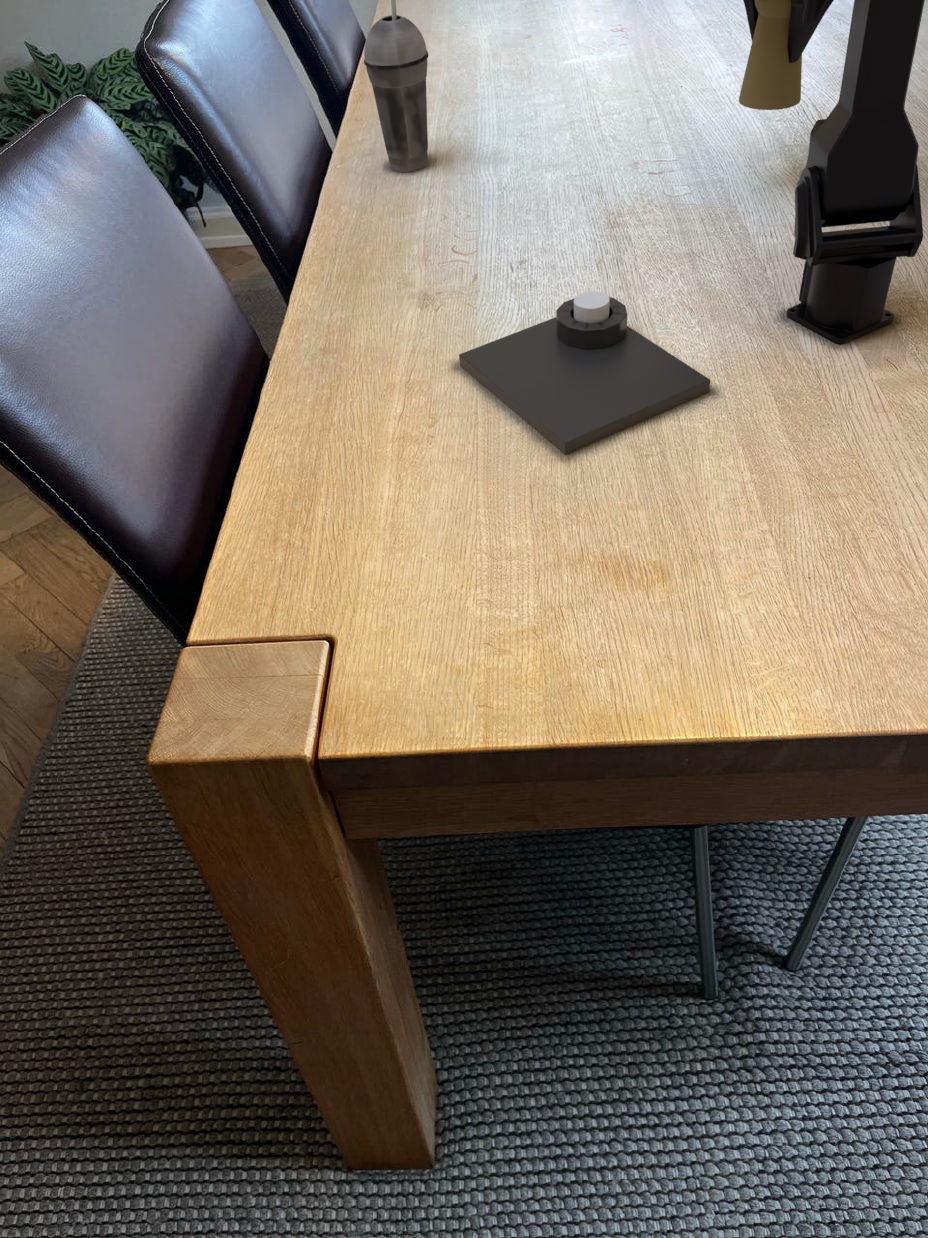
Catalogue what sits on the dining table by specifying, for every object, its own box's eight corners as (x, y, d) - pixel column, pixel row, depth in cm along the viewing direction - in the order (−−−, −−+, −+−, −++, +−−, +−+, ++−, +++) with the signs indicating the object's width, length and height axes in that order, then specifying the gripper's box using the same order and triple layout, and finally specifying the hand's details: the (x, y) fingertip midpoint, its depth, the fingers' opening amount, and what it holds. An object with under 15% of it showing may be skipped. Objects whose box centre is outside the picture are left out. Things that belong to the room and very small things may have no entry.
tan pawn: (801, 109, 95) (821, -23, 87) (737, 110, 96) (752, -20, 89) (799, 89, 99) (819, -38, 92) (739, 90, 100) (753, -35, 93)
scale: (709, 392, 78) (713, 359, 76) (565, 455, 74) (564, 422, 71) (592, 314, 88) (592, 283, 86) (459, 366, 84) (456, 335, 82)
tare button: (616, 317, 82) (616, 300, 81) (587, 328, 81) (587, 311, 80) (595, 303, 84) (595, 287, 83) (566, 314, 83) (566, 298, 82)
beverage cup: (367, 172, 116) (337, -24, 101) (398, 149, 120) (373, -42, 106) (420, 179, 113) (397, -21, 98) (450, 155, 117) (432, -40, 103)
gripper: (658, -136, 88) (650, 56, 99) (808, -119, 76) (779, 98, 87) (754, -156, 91) (735, 32, 102) (911, -142, 79) (871, 70, 90)
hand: (775, 57), depth 95 cm, fingers closed on tan pawn, 4 cm apart
